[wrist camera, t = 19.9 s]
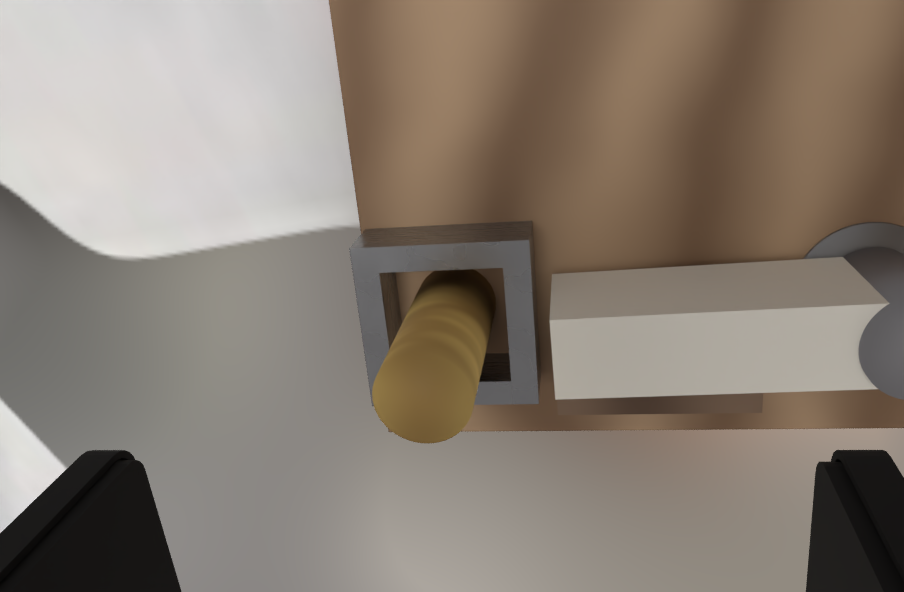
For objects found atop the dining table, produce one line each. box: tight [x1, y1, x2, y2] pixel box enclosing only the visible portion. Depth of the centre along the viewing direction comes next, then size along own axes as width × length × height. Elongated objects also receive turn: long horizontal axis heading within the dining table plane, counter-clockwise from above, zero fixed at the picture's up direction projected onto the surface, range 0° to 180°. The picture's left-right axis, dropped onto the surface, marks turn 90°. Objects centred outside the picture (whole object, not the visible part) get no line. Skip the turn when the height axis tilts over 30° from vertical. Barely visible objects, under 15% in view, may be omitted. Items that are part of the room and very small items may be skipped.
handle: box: [550, 247, 904, 400], centre depth 27 cm, size 13×4×5 cm, turn 96°
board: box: [329, 0, 904, 432], centre depth 28 cm, size 28×20×4 cm
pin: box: [372, 269, 496, 443], centre depth 28 cm, size 3×3×8 cm
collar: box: [349, 220, 541, 406], centre depth 31 cm, size 7×7×2 cm
